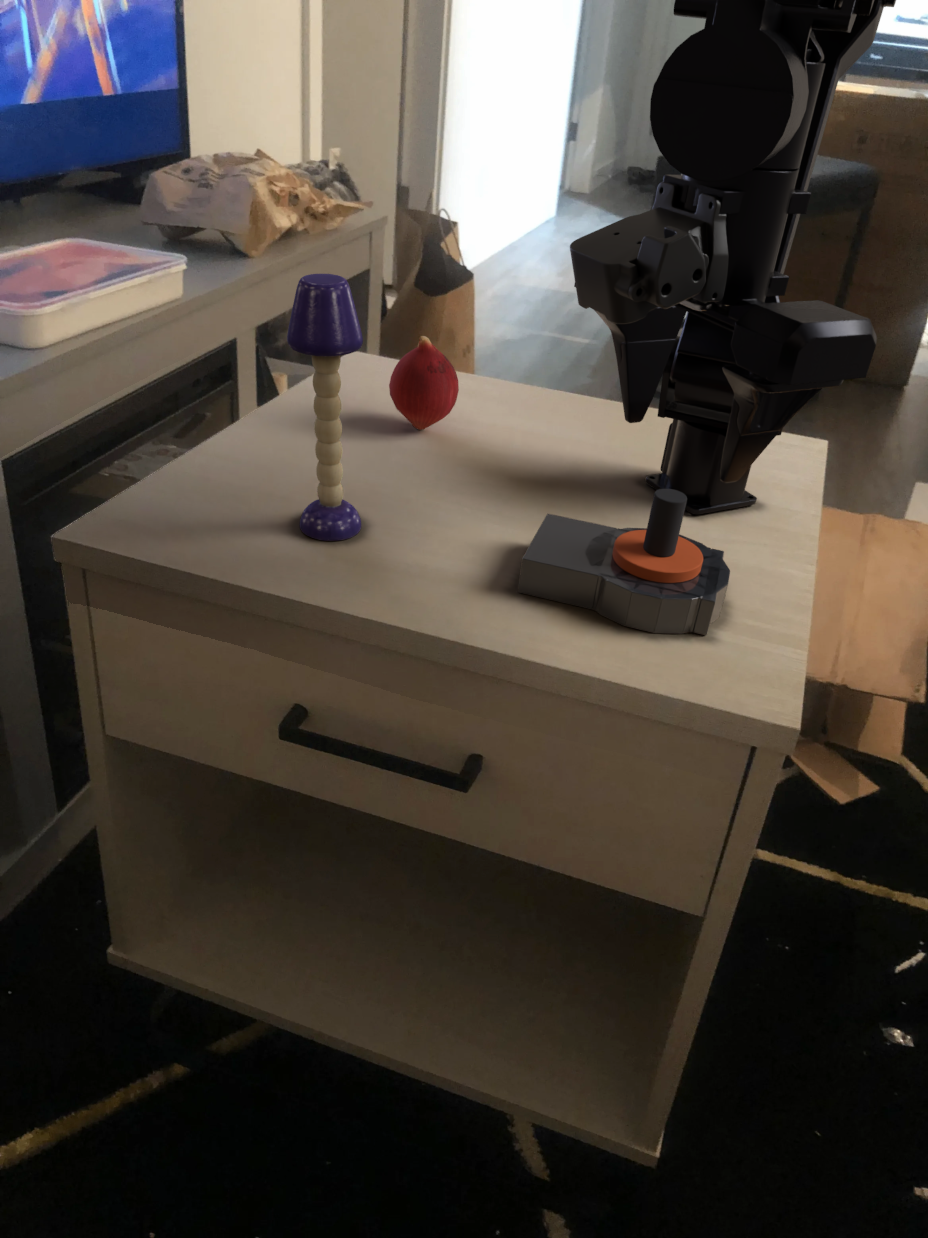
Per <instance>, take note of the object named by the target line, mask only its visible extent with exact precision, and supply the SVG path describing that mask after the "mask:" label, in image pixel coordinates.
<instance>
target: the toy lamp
mask: <svg viewBox="0 0 928 1238" xmlns="http://www.w3.org/2000/svg"><path fill="white" fill-rule="evenodd" d="M293 299H294V300H293V304H292V308H291V314H290V319H289V324H288V328H287V335H286V341H287V345H288V346H289V348H290V349H292V350H293V351H294V352H297V353H299V354H302V355H306V356H311V363H312V367H313V369H314V372H313V376H312V388H313V391H314V393H315V395H314V398H313V409H314V410H313V411H314V414H315V416H316V418H315V421H314V423H313V424H314V425H313V427H314V429H313V430H314V435H315V437H316V439H317V440H316V443H315V446H314V452H315V456H316V459H317V461H318V462H317V464H316V467H315V468H316V469H315V470H316V471H315V473H316V478H317V480H318V485H317V487H316V488H317V490H316V492H317V494H316V495H317V498H318V499H315V500H313V501H312V502H310V503H309V504H308V505H307V506H306V507H305V508H304V509H303V511H302V513H301V516H300V519H299V530H300V531H301V532H302V533H303V534H304V535H306V536H307V537H309V538H312V539H315V540H320V541H326V542H337V541H342V540H343V541H344V540H348V539H351V538H353V537H355V536H357V535H358V534H359V532H360V531H361V529H362V519H361V516H360V514H359V511H358V509H356V508H355V506H354V505H353V504H351V503H350V502H349V501H347V500H345V499H343V498H344V487H343V485H342V480H343V476H344V470H343V469H344V468H343V465H342V463H341V461H342V457H343V445H342V442H341V440H340V439H341V438H342V433H343V426H342V421H341V419H340V415H341V412H342V400H341V397H340V395H339V393H340V391H341V389H342V388H341V387H342V380H341V379H342V378H341V376H340V375H341V374H340V373H339V369H340V366H341V361H342V360H341V359H342V358H341V356H347V355H350V354H352V353H355V352H357V351H358V350H360V349H361V348H362V346H363V343H364V338H363V332H362V329H361V324H360V320H359V317H358V312H357V308H356V305H355V301H354V297H353V293H352V290H351V287H350V284H349V282H348V280H347V279H346V278H345V277H343V276H342V275H338V274H334V273H310V274H306V275H304V276H302V277H301V278H300V279H299V280H298V283H297V286H296V289H295V295H294V298H293Z"/></svg>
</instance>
